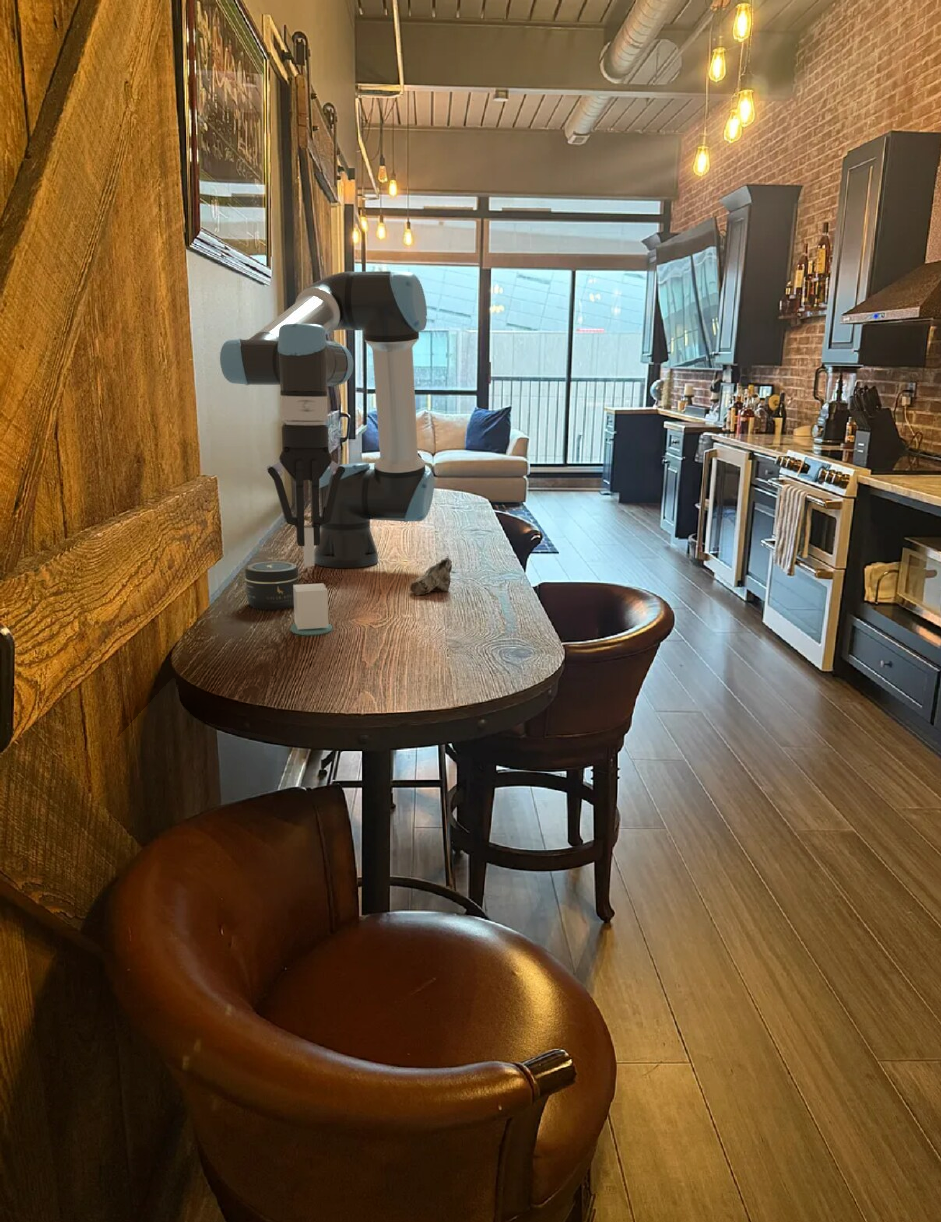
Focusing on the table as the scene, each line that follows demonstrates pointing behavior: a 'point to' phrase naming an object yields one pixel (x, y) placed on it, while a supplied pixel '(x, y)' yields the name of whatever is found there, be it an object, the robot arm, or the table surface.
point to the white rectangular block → (310, 606)
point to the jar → (271, 585)
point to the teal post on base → (311, 630)
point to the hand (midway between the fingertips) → (309, 564)
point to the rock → (434, 578)
